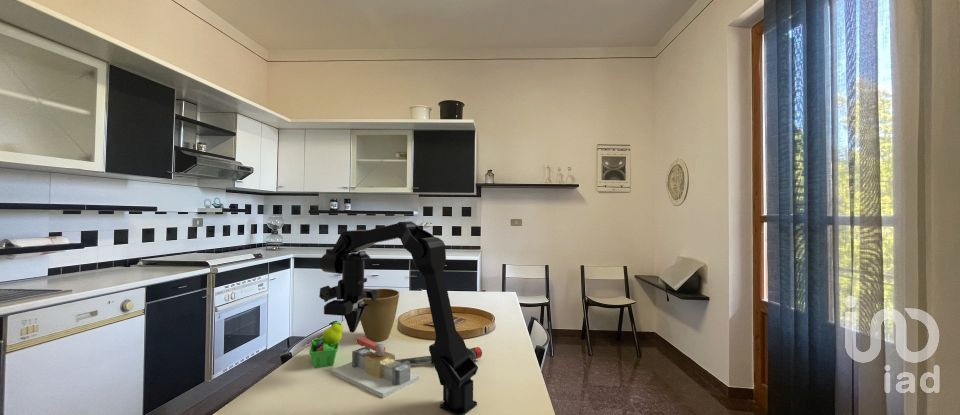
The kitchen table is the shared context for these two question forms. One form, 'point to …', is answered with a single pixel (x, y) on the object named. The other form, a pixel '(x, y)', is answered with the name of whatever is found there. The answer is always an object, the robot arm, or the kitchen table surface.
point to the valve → (473, 353)
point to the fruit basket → (326, 346)
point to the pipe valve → (381, 366)
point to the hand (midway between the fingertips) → (352, 331)
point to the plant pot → (380, 315)
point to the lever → (371, 345)
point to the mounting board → (370, 380)
